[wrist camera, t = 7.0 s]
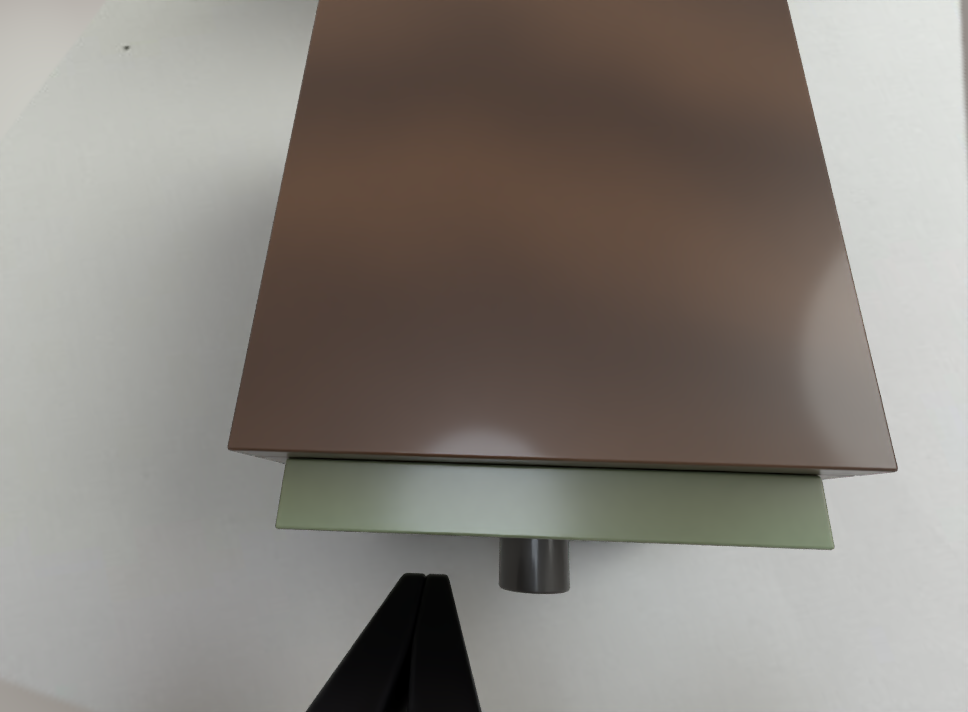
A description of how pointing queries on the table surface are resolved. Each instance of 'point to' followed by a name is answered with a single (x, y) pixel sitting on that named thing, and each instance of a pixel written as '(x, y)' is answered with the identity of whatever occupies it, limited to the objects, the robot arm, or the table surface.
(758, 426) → the cabinet
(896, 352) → the table surface
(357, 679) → the robot arm
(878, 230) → the table surface
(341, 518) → the drawer
